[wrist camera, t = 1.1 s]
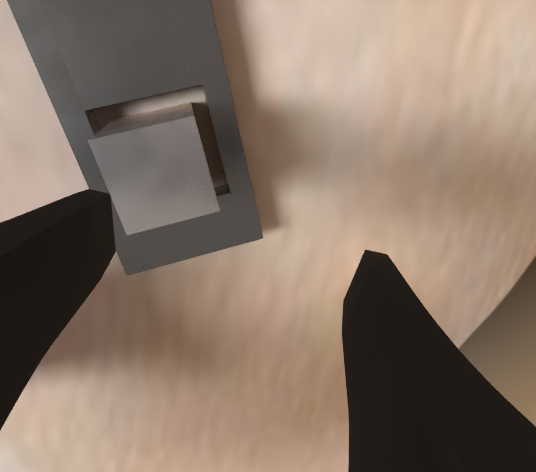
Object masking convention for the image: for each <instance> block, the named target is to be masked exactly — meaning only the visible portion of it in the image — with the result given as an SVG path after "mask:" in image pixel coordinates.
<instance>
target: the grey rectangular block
mask: <svg viewBox="0 0 536 472" xmlns="http://www.w3.org/2000/svg"><path fill="white" fill-rule="evenodd" d="M88 143H89V145H90V147H91V150H92V152H93V155H94V157H95V160H96V162H97V164H98V167H99V169H100V172H101V174H102V176H103V179H104V181H105V184H106V186H107V189H108V191H109V193H110V194H111V198H112V201H113V203H114V206H115V208H116V210H117V213H118V215H119V218H120V220H121V223H122V225H123V227H124V230H125V232H126V235H130V234H134V233H138V232H142V231H146V230H150V229H153V228H157V227H161V226H165V225H169V224H173V223H176V222H180V221H184V220H188V219H192V218H195V217H199V216H203V215H207V214H211V213H215V212H218V211H220V209H219V205H218V201H217V198H216V194H215V190H214V186H213V183H212V179H211V175H210V172H209V168H208V164H207V161H206V157H205V153H204V150H203V146H202V142H201V139H200V135H199V131H198V128H197V124H196V120H195V117H194V113H193V109H192V106H191V102H190V103H186V104H181V105H177V106H173V107H168V108H164V109H159V110H155V111H151V112H146V113H142V114H137V115H133V116H129V117H124V118H120V119H115V120H113V121H112V122H111V123H109V124H108V125H107V126H105V127H104V128H103V129H102V130H100V131H99V132H98V133H97V134H95V135H94V136H93V137H91V138H90V139H89V140H88Z"/></svg>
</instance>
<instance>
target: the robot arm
mask: <svg viewBox="0 0 536 472" xmlns="http://www.w3.org/2000/svg"><path fill="white" fill-rule="evenodd" d="M115 252H116V247H115V236H114V225H113V215H112V204H111V194H109V193H105V192H100V191H96V190H91V189H88V190H84V191H81V192H78V193H76V194H73V195H70V196H68V197H65V198H62V199H60V200H57V201H55V202H52V203H50V204H47V205H45V206H42V207H40V208H37V209H35V210H32V211H30V212H27V213H25V214H22V215H20V216H17V217H15V218H12V219H9V220H7V221H4V222H1V223H0V430H1V428H2V426H3V424H4V423H5V421H6V419H7V417H8V416H9V414H10V412H11V410H12V409H13V407H14V405H15V403H16V402H17V400H18V398H19V396H20V395H21V393H22V391H23V389H24V388H25V386H26V384H27V383H28V381H29V379H30V378H31V376H32V374H33V373H34V371H35V369H36V368H37V366H38V365H39V363H40V361H41V360H42V358H43V357H44V355H45V354H46V352H47V351H48V349H49V348H50V346H51V345H52V343H53V342H54V341H55V339H56V338H57V337H58V336H59V334H60V333H61V332H62V330H63V329H64V328H65V326H66V325H67V324H68V322H69V321H70V320H71V318H72V317H73V316H74V314H75V313H76V312H77V310H78V309H79V308H80V306H81V305H82V304H83V302H84V301H85V300H86V298H87V297H88V296H89V294H90V293H91V292H92V290H93V289H94V288H95V286H96V285H97V283H98V282H99V281H100V279H101V277H102V276H103V274H104V272H105V270H106V269H107V267H108V265H109V263H110V261H111V259H112V257H113V255H114V253H115ZM342 340H343V352H344V364H345V376H346V387H347V398H348V410H349V472H536V427H535V426H534V425H533V424H532V423H531V422H530V421H529V420H528V419H527V418H526V417H525V416H524V415H522V414H521V413H520V412H519V411H518V410H517V409H516V408H515V407H514V406H513V405H512V404H511V403H510V402H509V401H507V400H506V399H505V398H504V397H503V396H502V395H501V394H500V393H499V392H498V391H497V390H496V389H495V388H494V387H493V386H492V385H491V384H490V383H489V382H488V381H487V380H486V379H485V378H484V377H483V376H482V374H481V373H480V372H479V371H478V370H477V369H476V368H475V367H474V366H473V365H472V364H471V363H470V362H469V361H468V360H467V359H466V357H465V356H464V355H463V354H462V353H461V352H460V351H459V349H458V348H457V347H456V346H455V345H454V344H453V342H452V341H451V340H450V339H449V338H448V336H447V335H446V334H445V333H444V331H443V330H442V329H441V328H440V327H439V325H438V324H437V323H436V321H435V320H434V319H433V318H432V316H431V315H430V314H429V312H428V311H427V310H426V308H425V307H424V306H423V304H422V303H421V302H420V300H419V299H418V298H417V296H416V295H415V293H414V292H413V291H412V289H411V288H410V286H409V285H408V283H407V282H406V281H405V279H404V278H403V276H402V275H401V273H400V272H399V270H398V269H397V268H396V266H395V265H394V263H393V262H392V260H391V259H390V258H389V256H388V255H387V254H383V253H378V252H374V251H369V250H365V252H364V254H363V256H362V259H361V261H360V263H359V266H358V268H357V270H356V273H355V275H354V277H353V280H352V282H351V284H350V287H349V289H348V291H347V294H346V296H345V298H344V301H343V318H342Z"/></svg>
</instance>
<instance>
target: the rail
mask: <svg viewBox="0 0 536 472" xmlns="http://www.w3.org/2000/svg"><path fill="white" fill-rule="evenodd" d="M7 1H8V4H9V6H10V8H11V11H12V13H13V15H14V17H15V20H16V22H17V24H18V27H19V29H20V31H21V34H22V36H23V38H24V40H25V43H26V45H27V47H28V50H29V52H30V54H31V56H32V59H33V61H34V63H35V66H36V68H37V70H38V72H39V75H40V77H41V79H42V82H43V84H44V86H45V89H46V91H47V93H48V95H49V98H50V100H51V102H52V105H53V107H54V109H55V111H56V114H57V116H58V118H59V121H60V123H61V125H62V127H63V130H64V132H65V134H66V137H67V139H68V141H69V144H70V146H71V148H72V150H73V153H74V155H75V157H76V160H77V162H78V164H79V166H80V169H81V171H82V173H83V176H84V178H85V180H86V182H87V185H88V187H89V189H91V190H96V191H100V192H105V193H109V191H108V189H107V186H106V184H105V181H104V179H103V176H102V174H101V172H100V169H99V167H98V164H97V162H96V160H95V157H94V155H93V152H92V150H91V147H90V145H89V143H88V140H89V139H90V138H91V137H93V136H94V135H95V134H97V133H98V132H99V131H100V127H99V124H98V122H97V119H96V117H95V114H94V112H93V109H94V108H99V107H103V106H108V105H112V104H117V103H121V102H126V101H130V100H135V99H139V98H143V97H148V96H152V95H157V94H161V93H166V92H170V91H175V90H179V89H184V88H188V87H193V86H197V85H202V87H203V91H204V95H205V99H206V103H207V107H208V111H209V115H210V119H211V122H212V126H213V130H214V134H215V138H216V142H217V146H218V150H219V154H220V158H221V162H222V166H223V170H224V174H225V177H226V181H227V185H224V186H220V187H216V188H214V190H215V194H216V198H217V201H218V205H219V209H220V211H218V212H215V213H211V214H207V215H203V216H199V217H195V218H192V219H188V220H184V221H180V222H176V223H173V224H169V225H165V226H161V227H157V228H153V229H150V230H146V231H142V232H138V233H134V234H130V235H126V232H125V230H124V227H123V225H122V223H121V220H120V218H119V215H118V213H117V210H116V208H115V206H114V203H113V201H112V198H111V204H112V215H113V225H114V236H115V247H116V251H117V253H118V256H119V258H120V260H121V263H122V265H123V267H124V270H125V272H126V274H127V275H131V274H134V273H138V272H142V271H145V270H149V269H153V268H156V267H160V266H164V265H167V264H171V263H175V262H178V261H182V260H186V259H189V258H193V257H197V256H200V255H204V254H208V253H211V252H215V251H218V250H222V249H226V248H229V247H233V246H237V245H240V244H244V243H248V242H251V241H255V240H259V239H262V238H263V235H262V231H261V226H260V222H259V217H258V213H257V208H256V204H255V200H254V195H253V191H252V186H251V182H250V177H249V173H248V168H247V164H246V159H245V155H244V150H243V146H242V141H241V137H240V132H239V128H238V124H237V119H236V115H235V110H234V106H233V101H232V97H231V92H230V88H229V83H228V79H227V74H226V70H225V65H224V61H223V56H222V52H221V48H220V43H219V39H218V34H217V30H216V25H215V21H214V16H213V12H212V7H211V3H210V0H7ZM109 194H110V193H109Z"/></svg>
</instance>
